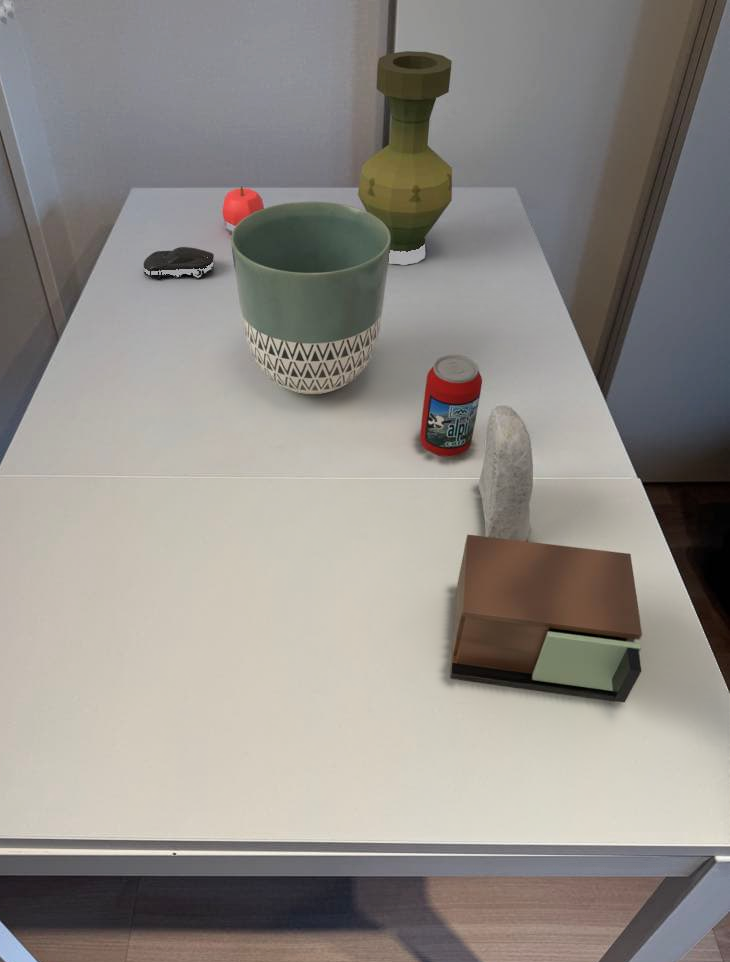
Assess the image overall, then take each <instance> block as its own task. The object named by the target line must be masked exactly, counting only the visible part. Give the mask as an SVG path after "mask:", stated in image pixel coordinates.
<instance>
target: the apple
mask: <svg viewBox="0 0 730 962" xmlns="http://www.w3.org/2000/svg"><path fill="white" fill-rule="evenodd" d="M264 208H265V206H264V202H263V198H262V197H261V195H260V194H259V193H258V192H257V191H255V190H253V189H250V188H243V186H240V188H236V189H233V190H231V191H228V192H227V193H226V195H225V196H224V200H223V205H222V217H223V220H224V222H225V221H226V222H228V223H230V224H232V225H234V226H236V225H237V224H238V223H239V222H240V221H241V220H243V219H244V218H245V217H247V216H249V215H250V214H252V213H254V212H257V211H259V210H262V209H264Z"/></svg>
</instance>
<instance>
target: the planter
mask: <svg viewBox="0 0 730 962" xmlns="http://www.w3.org/2000/svg"><path fill="white" fill-rule="evenodd" d="M230 243H231V251H232V260H233V266H234V267H233V268H234V272H235V278H236V285H237V292H238V300H239V306H240V313H241V318H242V319H241V321H242V325H243V331H244V335H245V340H246V343H247V346H248V348H249V351H250V353H251V356H252V358H253V360H254V362H255V363H256V365H257V366H258V368H259V369H260V371H262V373H263V374H264V375H265V376H266V377H267V378H268V379H270V380H271V381H272V382H274V383H275V384H276V385H278V386H280V387H282V388H284V389H286V390H289V391H291V392H295V393H299V394H305V395H321V394H327V393H330V392H333V391H336V390H338V389H341V388H342V387H344V386H346V385H348V384H349V383H350V382H352V381H354V379H356V378H357V377H358V376H359V375H360V374H361V373H362V372H363V371H364V370H365V368H366V367H367V365H368V364H369V362H370V360H371V358H372V356H373V353H374V351H375V349H376V346H377V343H378V339H379V336H380V330H381V324H382V323H381V322H382V315H383V307H384V302H385V301H384V300H385V293H386V292H385V291H386V283H387V276H388V268H389V264H388V262H389V253H390V243H391V236H390V232H389V230H388V228H387V226H386V225H385V224H384V223H383V222H382V221H381V220H380V219H379V218H377V217H376V216H374V215H372V214H370V213H368V212H367V211H366V210H364V209H362V208H359V207H355V206H353V205H352V206H351V205H347V204H344V203H337V202H331V201H311V200H309V201H294V202H285V203H281V204H275V205H272V206H267V207H264V209H262V210H259V211H257V212H254V213H252V214H250V215H249V216H247V217H245V218H244V219H243V220H241V221H240V222H239V223H238V224H237V225H236V227H235V228H234V230H233V232H231V236H230Z"/></svg>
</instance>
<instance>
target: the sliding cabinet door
mask: <svg viewBox="0 0 730 962" xmlns="http://www.w3.org/2000/svg"><path fill="white" fill-rule="evenodd" d="M641 650H642V645H641V643H639V642H634V643H633V642H626V641H618V640H611V639H603V638H595V637H588V636H580V635H572V634H565V633H557V632H550V631H548V632H547V635H546V638H545V641H544V644H543V647H542V649H541V652H540V655H539V658H538V661H537V663H536V666H535V669H534V672H533V675H532V679H533V680H537V681H544V682H551V683H559V684H566V685H573V686H580V687H588V688H595V689H602V690H609V691H613V697H614V701H613V702H618V703H626V701H627V699H628V697H629V695H630V693H631V692H632V690H633V688H634V686H635V685H636V683H637V680H638V679H639V678H640V675H641V673H642V664H641V657H640V652H641Z"/></svg>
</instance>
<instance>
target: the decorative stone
mask: <svg viewBox="0 0 730 962" xmlns="http://www.w3.org/2000/svg"><path fill="white" fill-rule="evenodd" d="M531 441H532V440H531V435H530V433H529V431H528V429H527V425H526V423H525V422H524V421H523V419H522V418H521V416H520V414H518V413H517V412H516V410H515V409H514V408H513V407H512V406H509V405H504V404H501V405H496V406H494V407H493V408H492V409H491V411H490V413H489V416H488V421H487V428H486V433H485V445H484V446H485V448H484V455H483V462H482V467H481V472H480V477H479V480H478V490H479V493H480V497H481V502H482V503H481V504H482V511H483V517H484V525H485V532H484V533H485V536H484V537H493V538H501V539H510V540H518V541H526V542H527V540H528V539H529V537H530V532H531V524H530V517H531V509H530V508H531V507H530V503H531V498H532V494H533V488H534V462H533V447H532V442H531Z"/></svg>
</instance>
